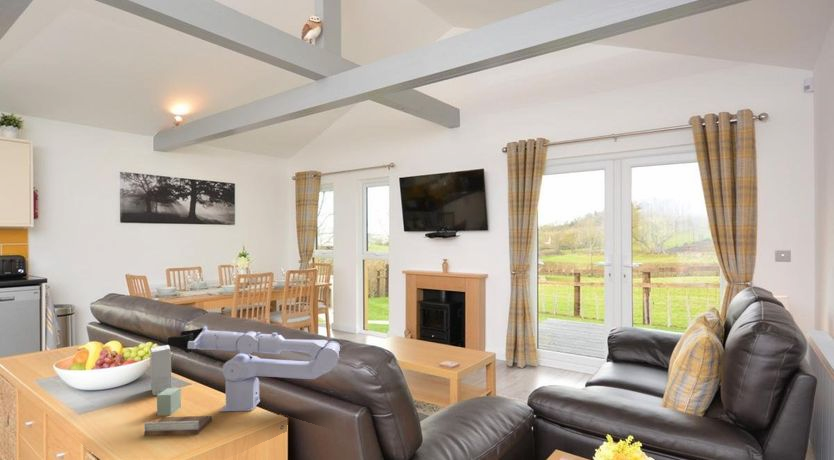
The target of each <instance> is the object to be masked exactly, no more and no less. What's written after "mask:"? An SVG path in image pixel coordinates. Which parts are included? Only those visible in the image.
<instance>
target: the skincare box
mask: <svg viewBox="0 0 834 460" xmlns="http://www.w3.org/2000/svg"><path fill="white" fill-rule="evenodd" d="M149 349H150V354H149V356H150V384H151V385H150V387H151V393H152V395H153V396H157V395H158V394H160V393H161V392H163V391H164V390H166V389H167V388H173V384H172V383H173V381H172V360H171V347H170V345H168V344H166V345H158V346H154V347H150V348H149Z"/></svg>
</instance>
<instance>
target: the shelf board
mask: <svg viewBox="0 0 834 460" xmlns="http://www.w3.org/2000/svg"><path fill="white" fill-rule="evenodd" d="M174 421H199V429H198V430H165V431H145V430H144V432H143V433H144V436H145V437H146V436H148V437H149V436H153V437H154V436H180V435H198V434H200V433H201V431H203V430H204V429H205V428H206V427H208V425H209V424H210V423H211V422H212V421H213V416H212V415H197V416H196V415H195V416H193V415H191V416H163V417H160V419H157V421H156V422H174Z"/></svg>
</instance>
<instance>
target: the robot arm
mask: <svg viewBox="0 0 834 460" xmlns="http://www.w3.org/2000/svg"><path fill="white" fill-rule="evenodd" d="M167 345H169V346H172V347H175V348H178V349H180V350H182V351H183V352H185V353H187V354H189V353H191V352H192V350H195V349H197V350H199V351H200V350H201V351H204V350H211V351H212V350H214V351H226V352H229V351H230V352H238V353H237V354H236V355H235V356H233V357H232V358H231V359H229V360H227V361H225V363H224V364H223V365H222V369H221V373H222V376H223V377H224V378H225V381H224V382H225V405H224V406H223V407H222V408H221V409H220V412H245V411H246V412H247V411H253V410H254V409H255V408H256V407H257V405H258V404H259V403H260V402H261V399H260V380H259V378H258V377H268V378H269V377H270V378H271V377H272V378H286V379H301V380H315V379H317V378H319V377H321V376H323V375H325V374H326V373H328V372H331V371H332V370H333V369H334V368H335V366H337V364H338V361H339V359H340V357H339V351H340V346H341V344H340V343H339V342H337V341H334V340H331V341H328V340H325V339H296V338H295V339H293V338H292V339H291V338H290V339H288V338H287V339H286V338H285V337H284V336H283V335H282V334H278V332H272V333H261V331H257V332H256V331H255V330H249V331H247V332H236V331H228V330H227V331H222V330H209V329H208V326H206V325H205V326H203V327H200V328H197V329H190V330H183V331H181V332H180V335H177V336H175V335H174V336H170V337H168V338H167ZM283 351H289V352H299V353H307V354H308V355H309V356H310V357H311V358H312V359H311V360H310V361H311V362H310V361H307V360H305V361H303V360H302V361H301V360H292V359H291V360H289V359H273V358H272V359H271V358H260V357H258V355H252V354H253V352H254V353H261V354H274V355H276V354H277V355H279V354H280V353H281V352H283ZM338 358H339V359H338Z"/></svg>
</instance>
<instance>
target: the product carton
mask: <svg viewBox="0 0 834 460" xmlns="http://www.w3.org/2000/svg"><path fill="white" fill-rule="evenodd" d="M181 393H182V388H181V387H172V388H167V389H166V390H164V391H163V392H161V393H160V394H158V395H156V416H172V415H173V414H174V413H175V412H177V411H178V410H179V409H180V408H181V407H182V394H181Z"/></svg>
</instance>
